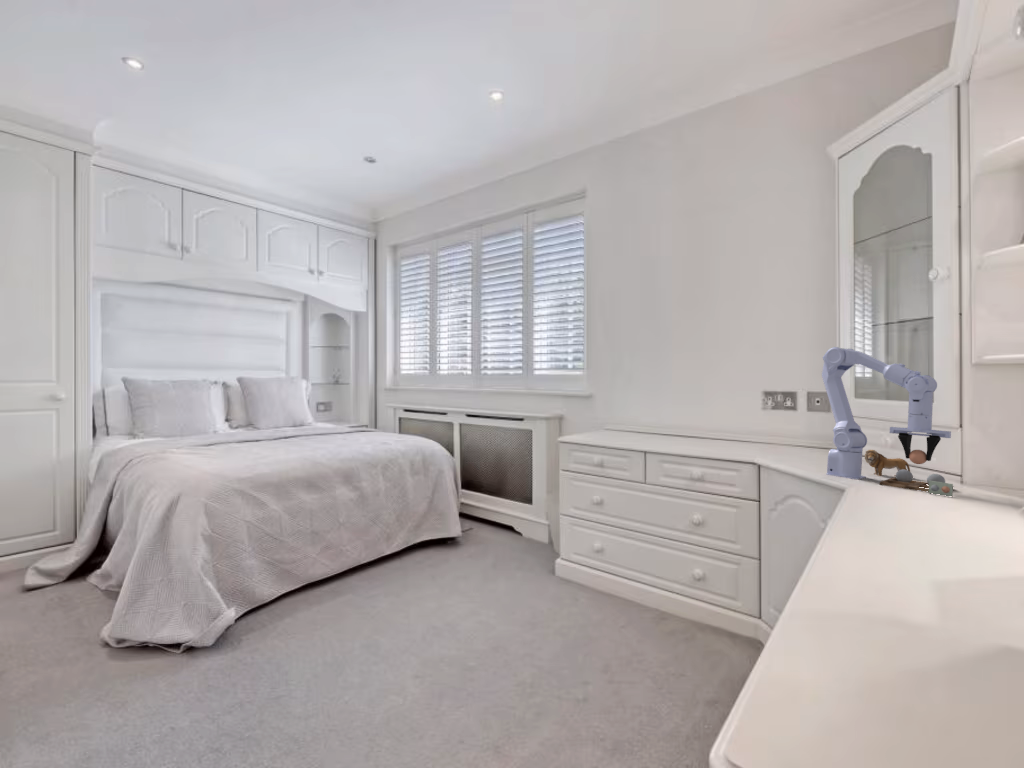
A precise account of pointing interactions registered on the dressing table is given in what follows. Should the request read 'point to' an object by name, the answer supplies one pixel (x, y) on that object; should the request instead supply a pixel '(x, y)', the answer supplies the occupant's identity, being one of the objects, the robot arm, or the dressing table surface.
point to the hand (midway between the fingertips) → (918, 459)
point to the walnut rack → (905, 484)
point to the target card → (940, 488)
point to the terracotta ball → (917, 456)
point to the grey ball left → (904, 476)
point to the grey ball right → (935, 478)
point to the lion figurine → (884, 462)
